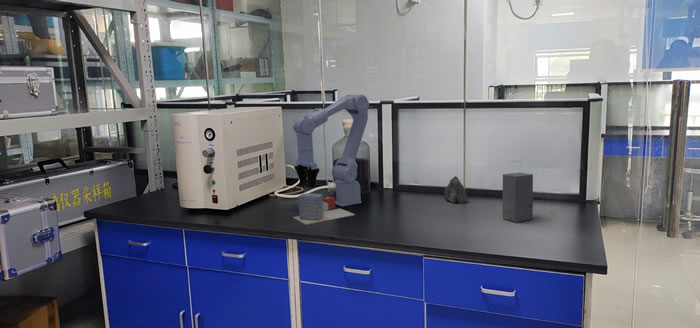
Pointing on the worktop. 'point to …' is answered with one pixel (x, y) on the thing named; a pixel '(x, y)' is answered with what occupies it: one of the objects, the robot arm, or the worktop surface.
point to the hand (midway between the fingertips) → (307, 185)
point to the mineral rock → (455, 191)
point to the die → (330, 202)
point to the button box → (325, 206)
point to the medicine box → (311, 206)
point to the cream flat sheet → (327, 216)
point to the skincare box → (517, 197)
